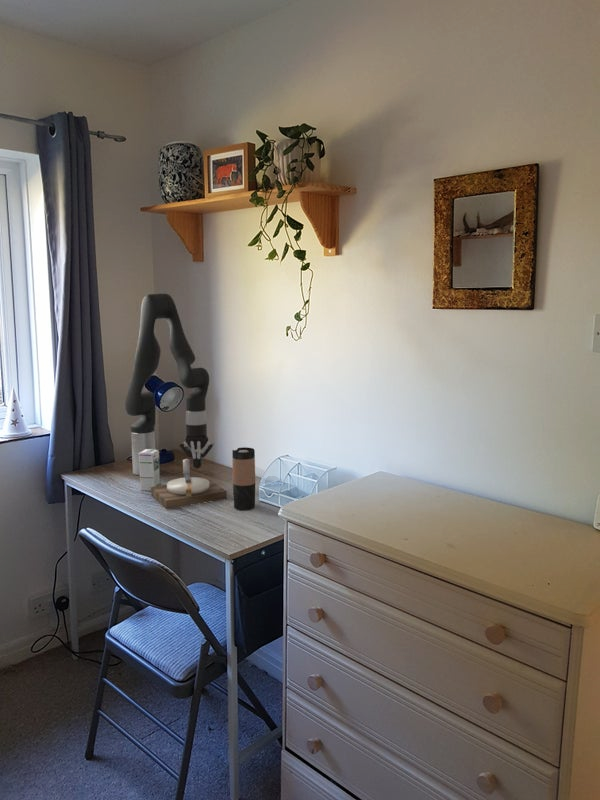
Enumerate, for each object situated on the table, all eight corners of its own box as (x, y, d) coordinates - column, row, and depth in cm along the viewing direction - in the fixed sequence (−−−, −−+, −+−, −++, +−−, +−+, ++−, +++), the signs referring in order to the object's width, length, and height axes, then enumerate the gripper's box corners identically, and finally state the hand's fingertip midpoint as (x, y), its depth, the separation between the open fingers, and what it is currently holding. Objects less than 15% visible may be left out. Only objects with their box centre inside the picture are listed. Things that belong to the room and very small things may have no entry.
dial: (166, 481, 238) (165, 460, 237) (206, 478, 241) (206, 457, 240) (167, 496, 220) (166, 473, 219) (211, 493, 223) (210, 470, 222)
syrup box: (154, 491, 236) (153, 453, 234) (139, 490, 238) (138, 452, 235) (161, 486, 242) (159, 449, 240) (146, 485, 243) (144, 448, 241)
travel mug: (256, 510, 215) (255, 452, 212) (233, 511, 214) (232, 453, 211) (254, 502, 222) (253, 446, 219) (232, 504, 221) (231, 447, 218)
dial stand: (151, 494, 232) (150, 480, 231) (208, 486, 242) (208, 472, 241) (166, 509, 216) (165, 493, 215) (226, 499, 227) (226, 484, 226)
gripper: (216, 420, 238) (217, 465, 241) (181, 420, 239) (182, 465, 242) (211, 424, 231) (212, 471, 233) (175, 424, 232) (177, 470, 235)
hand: (197, 468), depth 238 cm, fingers closed
